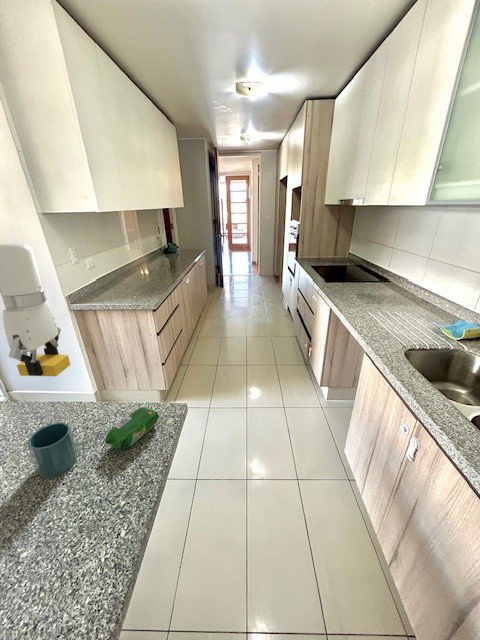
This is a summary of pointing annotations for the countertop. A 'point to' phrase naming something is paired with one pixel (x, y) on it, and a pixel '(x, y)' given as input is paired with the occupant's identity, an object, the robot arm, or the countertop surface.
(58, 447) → the cup
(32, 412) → the countertop surface
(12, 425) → the countertop surface
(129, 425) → the snack package
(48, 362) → the yellow flat block
